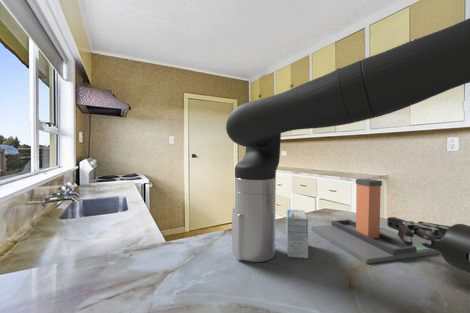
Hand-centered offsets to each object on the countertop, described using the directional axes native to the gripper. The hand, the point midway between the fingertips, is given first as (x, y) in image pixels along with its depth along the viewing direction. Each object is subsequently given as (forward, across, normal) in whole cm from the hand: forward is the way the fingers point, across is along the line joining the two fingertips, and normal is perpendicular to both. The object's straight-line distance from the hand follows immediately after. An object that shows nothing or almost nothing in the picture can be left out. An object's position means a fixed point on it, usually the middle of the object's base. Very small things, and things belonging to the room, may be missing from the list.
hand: (389, 221), depth 51 cm
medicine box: (+5, +21, +7) cm, 23 cm away
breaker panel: (+6, 0, +7) cm, 9 cm away
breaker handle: (+6, 0, +6) cm, 9 cm away
